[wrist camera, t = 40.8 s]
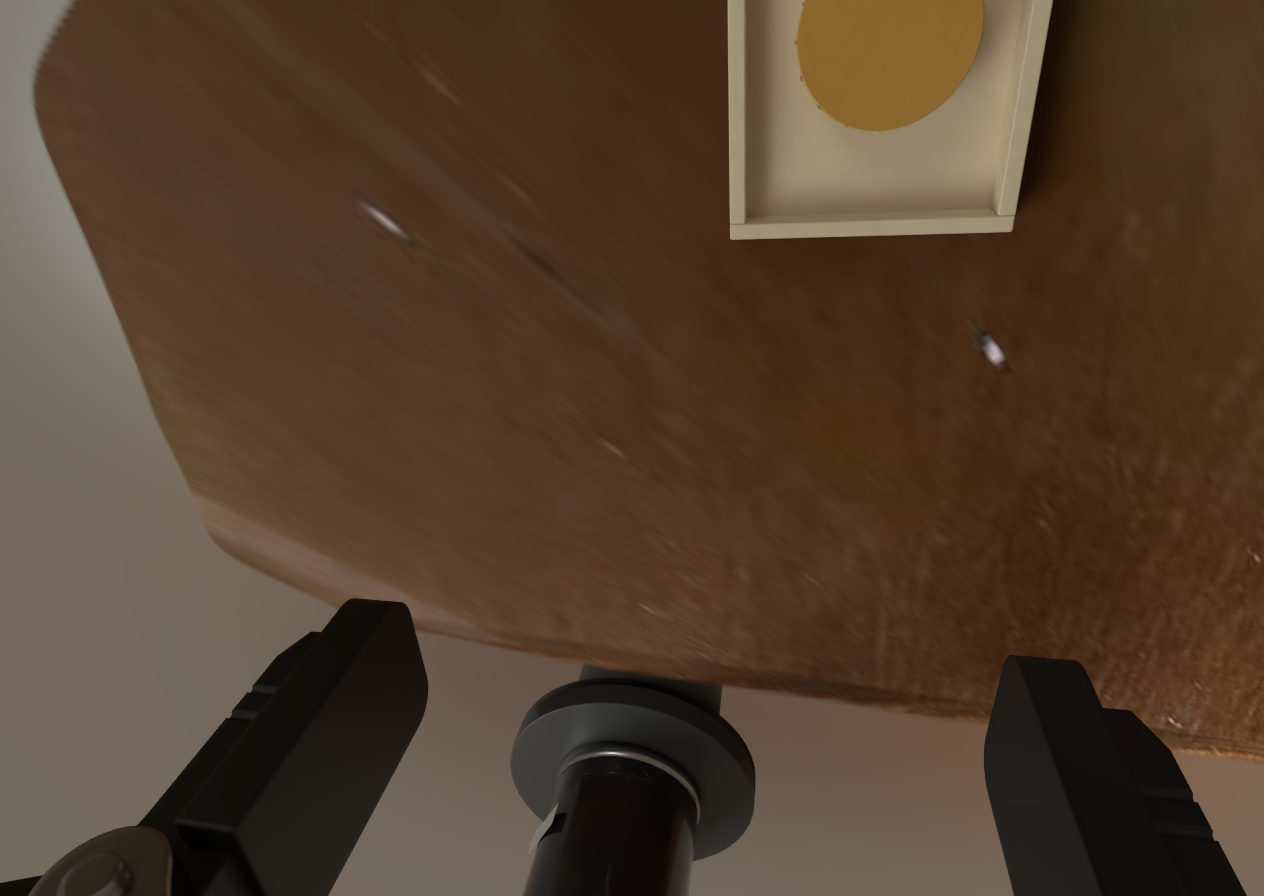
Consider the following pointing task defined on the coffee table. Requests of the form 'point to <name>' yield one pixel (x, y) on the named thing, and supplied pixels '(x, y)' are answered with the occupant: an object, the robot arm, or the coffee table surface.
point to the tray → (877, 137)
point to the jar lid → (886, 57)
